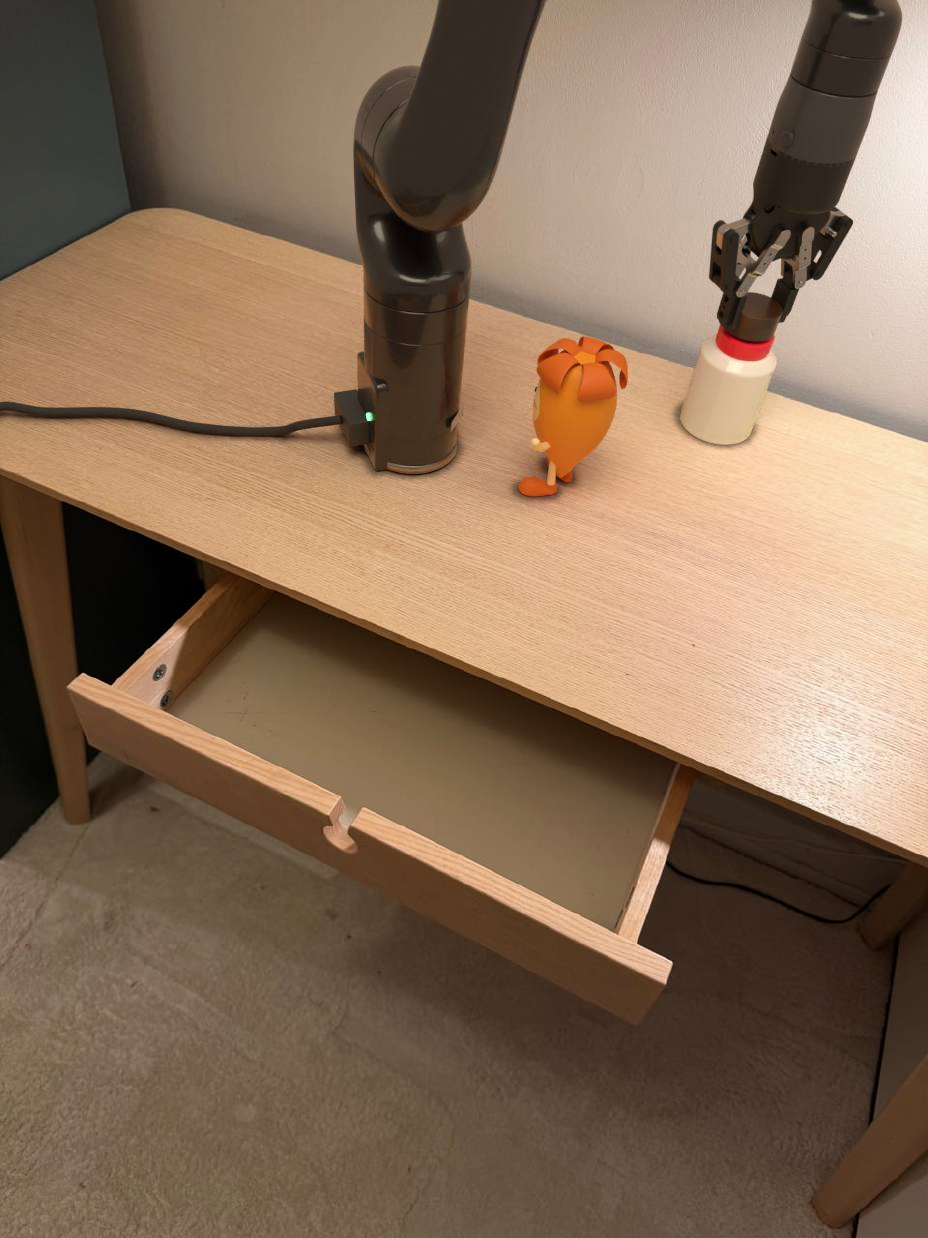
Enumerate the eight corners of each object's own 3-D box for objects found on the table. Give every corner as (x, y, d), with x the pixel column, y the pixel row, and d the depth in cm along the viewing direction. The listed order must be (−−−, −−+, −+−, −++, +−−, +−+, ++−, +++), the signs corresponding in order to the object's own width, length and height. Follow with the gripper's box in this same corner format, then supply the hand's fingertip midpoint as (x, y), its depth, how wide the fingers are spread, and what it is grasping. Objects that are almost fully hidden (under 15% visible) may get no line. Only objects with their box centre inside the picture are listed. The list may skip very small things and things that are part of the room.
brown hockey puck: (741, 344, 87) (748, 322, 85) (714, 317, 90) (721, 295, 88) (784, 337, 89) (793, 315, 87) (756, 310, 92) (764, 288, 90)
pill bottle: (761, 419, 99) (797, 328, 91) (736, 454, 95) (770, 362, 86) (696, 392, 101) (725, 302, 93) (668, 426, 97) (696, 334, 89)
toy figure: (558, 441, 94) (584, 308, 82) (624, 475, 91) (660, 342, 80) (491, 498, 87) (509, 362, 76) (560, 537, 84) (590, 402, 73)
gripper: (855, 117, 81) (789, 294, 93) (717, 127, 76) (668, 312, 89) (909, 152, 76) (832, 333, 89) (766, 165, 72) (707, 353, 85)
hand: (750, 321), depth 89 cm, fingers closed on brown hockey puck, 5 cm apart
